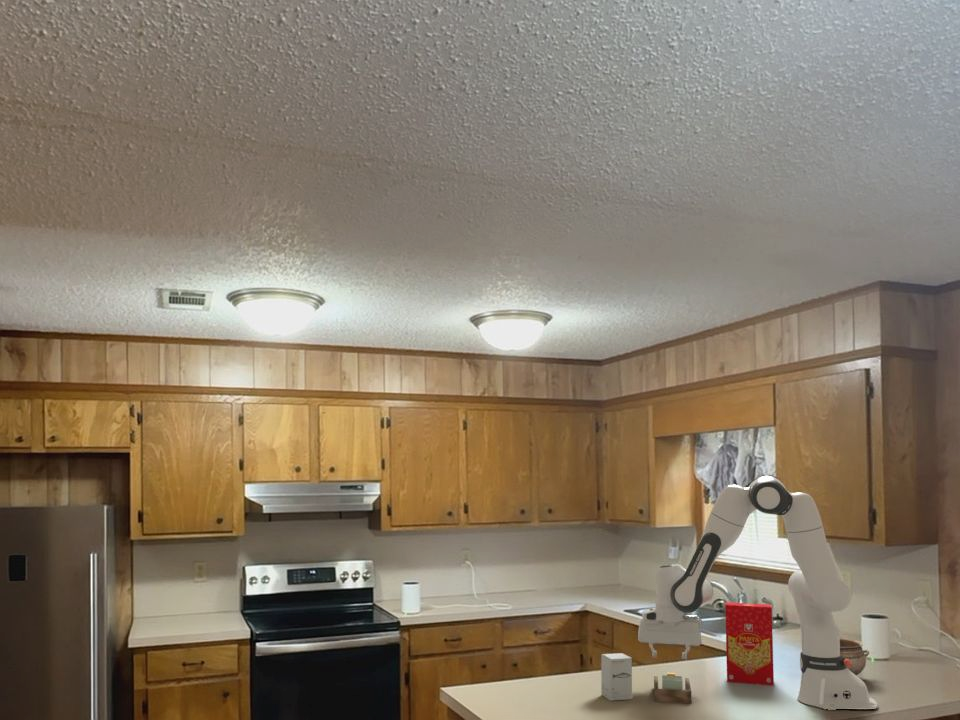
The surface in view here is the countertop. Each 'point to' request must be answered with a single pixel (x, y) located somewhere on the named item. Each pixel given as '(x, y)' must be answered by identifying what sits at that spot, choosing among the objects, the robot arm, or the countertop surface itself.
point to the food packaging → (749, 643)
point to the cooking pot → (853, 654)
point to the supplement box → (616, 676)
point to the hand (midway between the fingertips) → (669, 657)
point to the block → (672, 681)
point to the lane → (672, 693)
